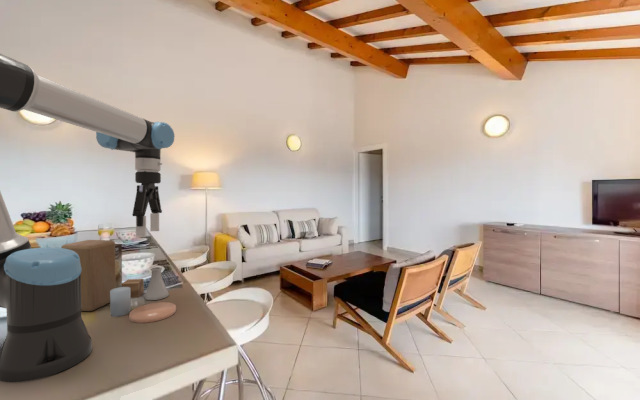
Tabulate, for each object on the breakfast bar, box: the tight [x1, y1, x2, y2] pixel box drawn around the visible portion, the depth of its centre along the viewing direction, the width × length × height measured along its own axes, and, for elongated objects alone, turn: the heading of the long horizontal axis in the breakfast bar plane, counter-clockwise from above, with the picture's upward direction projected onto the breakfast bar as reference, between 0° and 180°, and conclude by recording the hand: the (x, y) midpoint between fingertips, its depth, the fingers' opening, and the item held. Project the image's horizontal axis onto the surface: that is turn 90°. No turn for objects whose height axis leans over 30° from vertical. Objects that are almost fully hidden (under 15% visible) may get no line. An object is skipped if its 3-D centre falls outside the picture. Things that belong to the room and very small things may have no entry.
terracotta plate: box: [128, 301, 177, 324], centre depth 88 cm, size 12×12×1 cm
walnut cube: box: [121, 278, 145, 299], centre depth 104 cm, size 5×5×5 cm
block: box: [60, 239, 116, 312], centre depth 94 cm, size 10×10×20 cm
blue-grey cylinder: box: [109, 286, 132, 317], centre depth 89 cm, size 5×5×7 cm
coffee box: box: [115, 243, 123, 288], centre depth 109 cm, size 9×6×16 cm
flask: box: [143, 266, 170, 301], centre depth 102 cm, size 7×7×10 cm
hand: (148, 233), depth 103 cm, fingers open, 13 cm apart
